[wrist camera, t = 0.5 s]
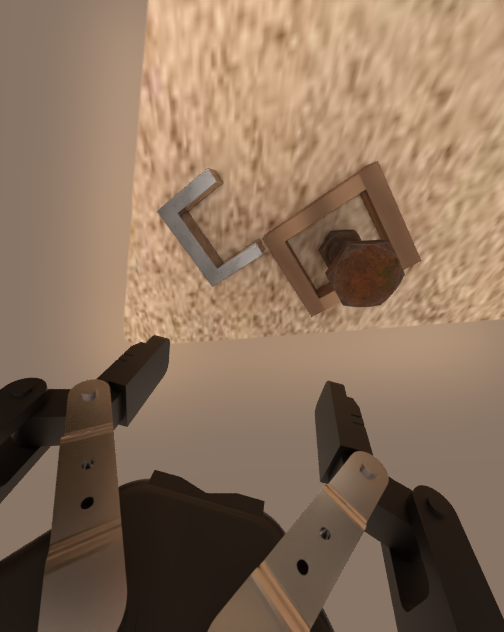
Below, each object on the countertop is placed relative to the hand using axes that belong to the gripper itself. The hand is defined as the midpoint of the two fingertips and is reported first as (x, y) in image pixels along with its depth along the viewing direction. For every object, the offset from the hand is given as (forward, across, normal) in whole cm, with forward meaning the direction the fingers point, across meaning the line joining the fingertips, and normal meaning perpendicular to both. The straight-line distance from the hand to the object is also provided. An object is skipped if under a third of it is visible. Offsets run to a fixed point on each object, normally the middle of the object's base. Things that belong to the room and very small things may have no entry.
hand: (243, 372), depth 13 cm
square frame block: (+25, -7, -3) cm, 26 cm away
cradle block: (+25, +9, -2) cm, 26 cm away
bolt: (+25, -7, -3) cm, 27 cm away
